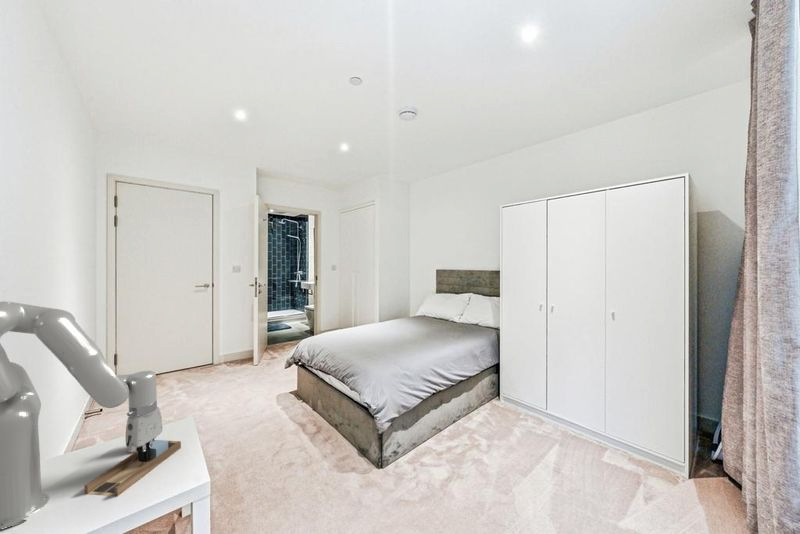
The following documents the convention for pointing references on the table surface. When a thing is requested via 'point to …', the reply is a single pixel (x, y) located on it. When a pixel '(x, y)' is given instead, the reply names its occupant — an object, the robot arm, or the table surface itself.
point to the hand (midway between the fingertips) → (144, 460)
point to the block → (158, 448)
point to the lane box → (127, 473)
